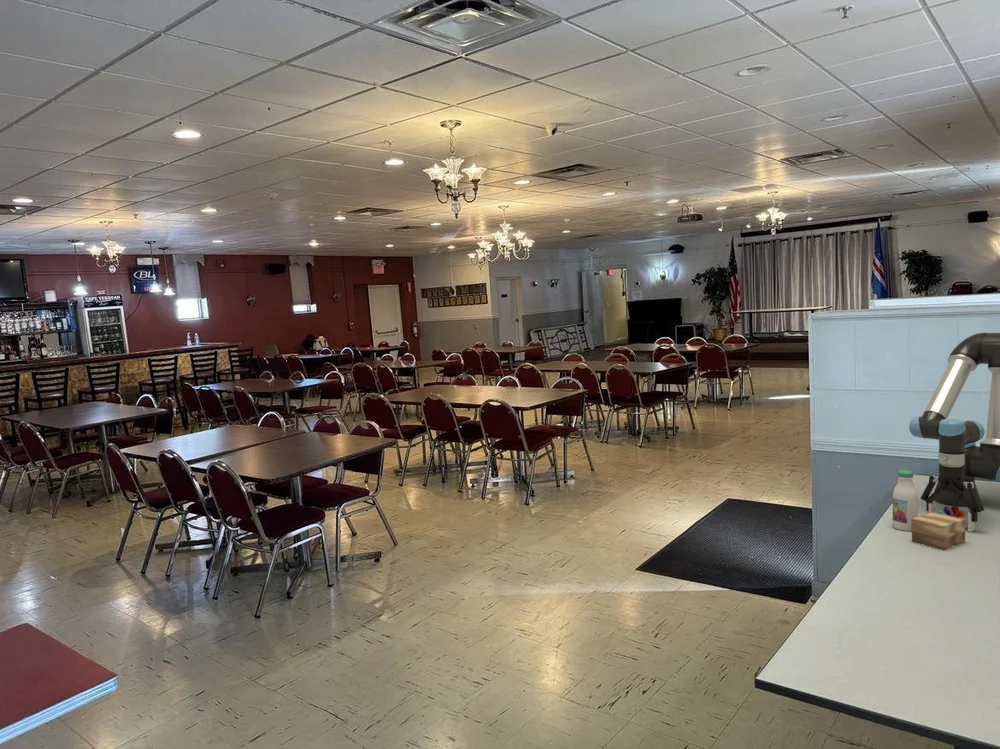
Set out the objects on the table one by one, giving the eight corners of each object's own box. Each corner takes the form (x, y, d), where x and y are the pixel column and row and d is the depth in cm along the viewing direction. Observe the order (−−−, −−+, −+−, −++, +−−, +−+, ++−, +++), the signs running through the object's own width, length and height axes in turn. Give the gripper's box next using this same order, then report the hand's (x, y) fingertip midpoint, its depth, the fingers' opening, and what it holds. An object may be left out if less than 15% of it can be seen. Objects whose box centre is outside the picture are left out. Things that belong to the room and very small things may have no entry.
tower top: (933, 523, 234) (933, 511, 233) (964, 531, 225) (965, 519, 224) (911, 530, 228) (911, 518, 228) (942, 539, 219) (942, 526, 219)
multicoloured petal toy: (972, 529, 236) (972, 508, 236) (943, 531, 237) (943, 510, 236) (956, 521, 245) (956, 501, 244) (928, 523, 245) (928, 503, 244)
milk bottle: (911, 524, 245) (911, 468, 243) (922, 531, 237) (922, 473, 235) (888, 524, 246) (888, 469, 244) (898, 531, 238) (898, 474, 236)
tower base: (933, 535, 234) (933, 523, 234) (965, 543, 225) (965, 531, 225) (911, 542, 229) (911, 530, 228) (943, 551, 220) (943, 538, 219)
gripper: (909, 460, 247) (909, 519, 249) (984, 473, 226) (983, 537, 228) (922, 457, 251) (922, 515, 253) (997, 469, 229) (996, 532, 231)
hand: (951, 525), depth 240 cm, fingers open, 12 cm apart
